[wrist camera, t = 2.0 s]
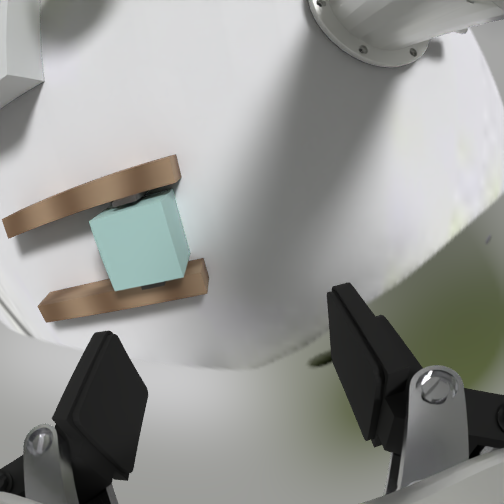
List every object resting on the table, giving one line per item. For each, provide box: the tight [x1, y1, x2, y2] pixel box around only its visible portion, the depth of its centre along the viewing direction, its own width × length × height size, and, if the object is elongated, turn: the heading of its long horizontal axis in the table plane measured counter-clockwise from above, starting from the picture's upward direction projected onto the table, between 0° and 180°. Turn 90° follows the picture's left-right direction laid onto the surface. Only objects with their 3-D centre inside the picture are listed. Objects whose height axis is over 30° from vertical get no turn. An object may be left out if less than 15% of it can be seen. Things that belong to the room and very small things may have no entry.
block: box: [89, 189, 190, 291], centre depth 24 cm, size 6×6×5 cm
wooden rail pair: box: [2, 154, 209, 322], centre depth 24 cm, size 18×12×4 cm, turn 102°
